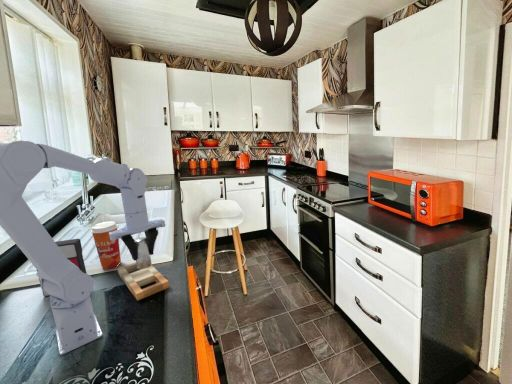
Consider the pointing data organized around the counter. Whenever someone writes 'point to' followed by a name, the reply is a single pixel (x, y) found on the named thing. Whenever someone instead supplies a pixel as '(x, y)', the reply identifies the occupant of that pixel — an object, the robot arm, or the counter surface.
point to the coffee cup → (106, 244)
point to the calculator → (71, 253)
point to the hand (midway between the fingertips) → (143, 256)
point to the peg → (142, 253)
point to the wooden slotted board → (142, 280)
